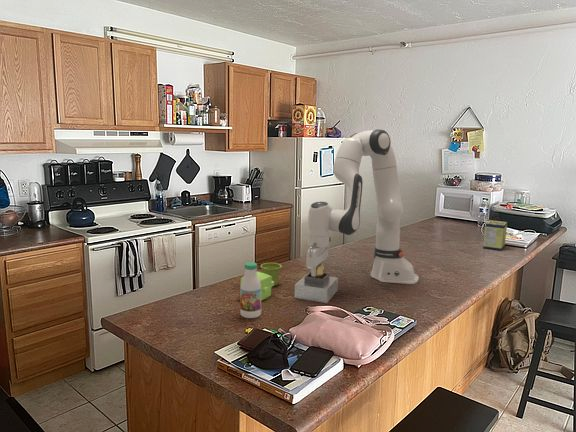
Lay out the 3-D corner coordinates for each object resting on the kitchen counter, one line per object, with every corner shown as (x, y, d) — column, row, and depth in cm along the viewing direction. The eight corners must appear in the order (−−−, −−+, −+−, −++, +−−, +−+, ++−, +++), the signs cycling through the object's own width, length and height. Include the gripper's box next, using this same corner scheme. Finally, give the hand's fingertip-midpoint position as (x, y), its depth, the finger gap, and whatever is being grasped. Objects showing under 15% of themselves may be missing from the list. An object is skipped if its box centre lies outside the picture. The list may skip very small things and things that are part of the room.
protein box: (504, 246, 284) (507, 221, 281) (501, 251, 271) (504, 225, 268) (487, 243, 290) (489, 219, 287) (482, 248, 277) (485, 223, 274)
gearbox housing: (337, 290, 198) (338, 272, 197) (326, 303, 184) (327, 283, 182) (307, 286, 203) (307, 268, 202) (294, 298, 189) (295, 278, 187)
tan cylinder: (324, 279, 194) (324, 263, 192) (320, 283, 189) (321, 266, 188) (313, 278, 196) (313, 261, 194) (309, 281, 191) (310, 264, 190)
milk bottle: (240, 310, 174) (240, 260, 171) (260, 310, 175) (261, 260, 171) (240, 319, 167) (240, 266, 163) (261, 318, 167) (261, 266, 164)
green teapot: (252, 309, 178) (252, 286, 176) (232, 302, 183) (233, 280, 181) (278, 295, 193) (279, 274, 190) (259, 289, 198) (260, 268, 196)
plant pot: (284, 282, 208) (284, 264, 207) (276, 288, 200) (277, 269, 198) (265, 279, 211) (265, 261, 210) (257, 286, 203) (257, 267, 201)
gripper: (317, 247, 179) (316, 281, 181) (332, 236, 197) (331, 267, 200) (302, 245, 181) (302, 278, 183) (318, 235, 200) (317, 265, 202)
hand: (317, 272), depth 192 cm, fingers open, 8 cm apart
